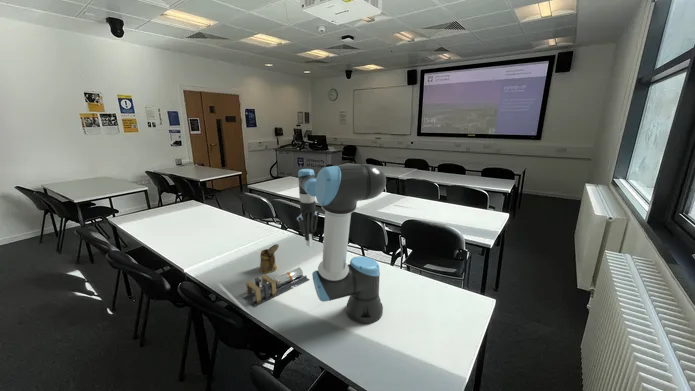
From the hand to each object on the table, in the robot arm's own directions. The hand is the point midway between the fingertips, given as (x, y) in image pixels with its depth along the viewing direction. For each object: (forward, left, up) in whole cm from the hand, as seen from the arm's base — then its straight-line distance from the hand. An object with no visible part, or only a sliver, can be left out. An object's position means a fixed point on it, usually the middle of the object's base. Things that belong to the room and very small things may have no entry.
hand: (309, 245), depth 143 cm
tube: (0, +13, -15) cm, 20 cm away
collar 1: (0, +32, -16) cm, 35 cm away
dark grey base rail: (0, +20, -16) cm, 25 cm away
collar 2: (0, +24, -16) cm, 29 cm away
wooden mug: (+16, +14, -16) cm, 27 cm away
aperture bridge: (0, +28, -16) cm, 32 cm away
